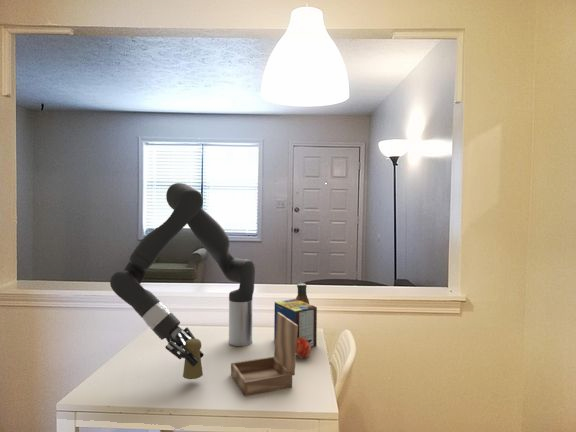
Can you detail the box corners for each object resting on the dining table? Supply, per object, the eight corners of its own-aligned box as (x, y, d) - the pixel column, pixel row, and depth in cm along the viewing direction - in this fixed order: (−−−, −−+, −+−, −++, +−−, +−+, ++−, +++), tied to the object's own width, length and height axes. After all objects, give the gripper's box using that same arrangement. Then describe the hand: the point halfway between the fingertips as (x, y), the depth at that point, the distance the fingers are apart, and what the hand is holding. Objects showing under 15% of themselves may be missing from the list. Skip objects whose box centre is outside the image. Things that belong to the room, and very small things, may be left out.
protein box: (294, 334, 173) (295, 298, 172) (316, 346, 160) (317, 306, 159) (273, 339, 167) (273, 301, 166) (294, 351, 154) (295, 310, 154)
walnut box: (230, 375, 133) (231, 363, 133) (274, 368, 139) (274, 356, 139) (244, 396, 120) (244, 382, 119) (292, 387, 125) (292, 374, 125)
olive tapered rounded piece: (197, 380, 124) (197, 344, 123) (179, 378, 125) (179, 342, 124) (205, 371, 129) (205, 337, 129) (188, 369, 131) (188, 335, 130)
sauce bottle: (311, 328, 182) (312, 283, 181) (306, 332, 176) (307, 286, 175) (298, 325, 185) (298, 282, 184) (292, 330, 179) (293, 284, 178)
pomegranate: (293, 367, 145) (316, 351, 144) (281, 349, 147) (304, 334, 145) (297, 361, 153) (318, 346, 151) (286, 344, 154) (307, 329, 153)
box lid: (276, 312, 139) (279, 312, 139) (273, 357, 139) (276, 357, 139) (295, 325, 125) (298, 325, 125) (291, 375, 125) (294, 375, 126)
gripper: (159, 319, 120) (199, 362, 119) (178, 305, 134) (214, 344, 133) (142, 336, 121) (182, 379, 120) (162, 321, 135) (198, 359, 134)
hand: (198, 360), depth 127 cm, fingers closed on olive tapered rounded piece, 4 cm apart
